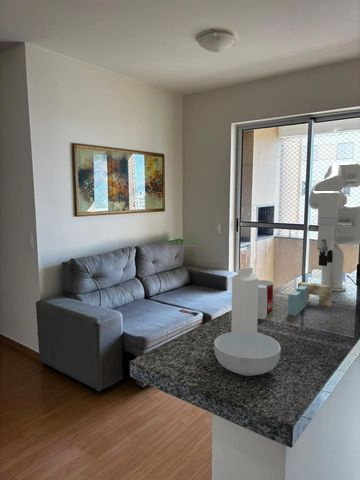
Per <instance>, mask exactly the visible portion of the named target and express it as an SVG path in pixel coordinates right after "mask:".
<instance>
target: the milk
mask: <svg viewBox="0 0 360 480" xmlns="http://www.w3.org/2000/svg"><path fill="white" fill-rule="evenodd" d="M258 280H259V278H258V276H256V274H255V273H254V272H253V267H247V268H238V269H237V274H235V275H234V276H233V277H231V327H230V328H231V329H230V330H231V331H230V332H235V331H249V332H256V333H258V321H259V319H258Z"/></svg>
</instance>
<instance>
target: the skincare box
mask: <svg viewBox="0 0 360 480" xmlns="http://www.w3.org/2000/svg"><path fill="white" fill-rule="evenodd" d="M267 316H268V312H267V285H258V320H265V319H266V318H267Z"/></svg>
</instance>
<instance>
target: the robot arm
mask: <svg viewBox="0 0 360 480" xmlns="http://www.w3.org/2000/svg"><path fill="white" fill-rule="evenodd" d="M359 187H360V164H359V163H358V162H338V163H333V164H331V165H330V166H329V167H328V169H327V172H326V173H325V174H324V177H323V180H321V181H319V182H317V183H316V184H314V186H313V187H312V188H311V190H310V194H309V196H308V204H309V207H310V208H311V209H313V210H317V224H316V225H317V226H318V233H317V240H316V249H317V250H318V251H319V252H318V265H319V266H321V279H320V281H321V283H319V284H320V285H328V286H332V292H344V291H346V288H347V287H346V286H345V285H343V279H344V257H345V254H344V251H343V249H342V248H341V247H340V245H347V246H356V245H359V244H360V205H356V204H347V202H348V198H347V195H346V194H345V192H343V191H342V190H343V189H344V188H359Z"/></svg>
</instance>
